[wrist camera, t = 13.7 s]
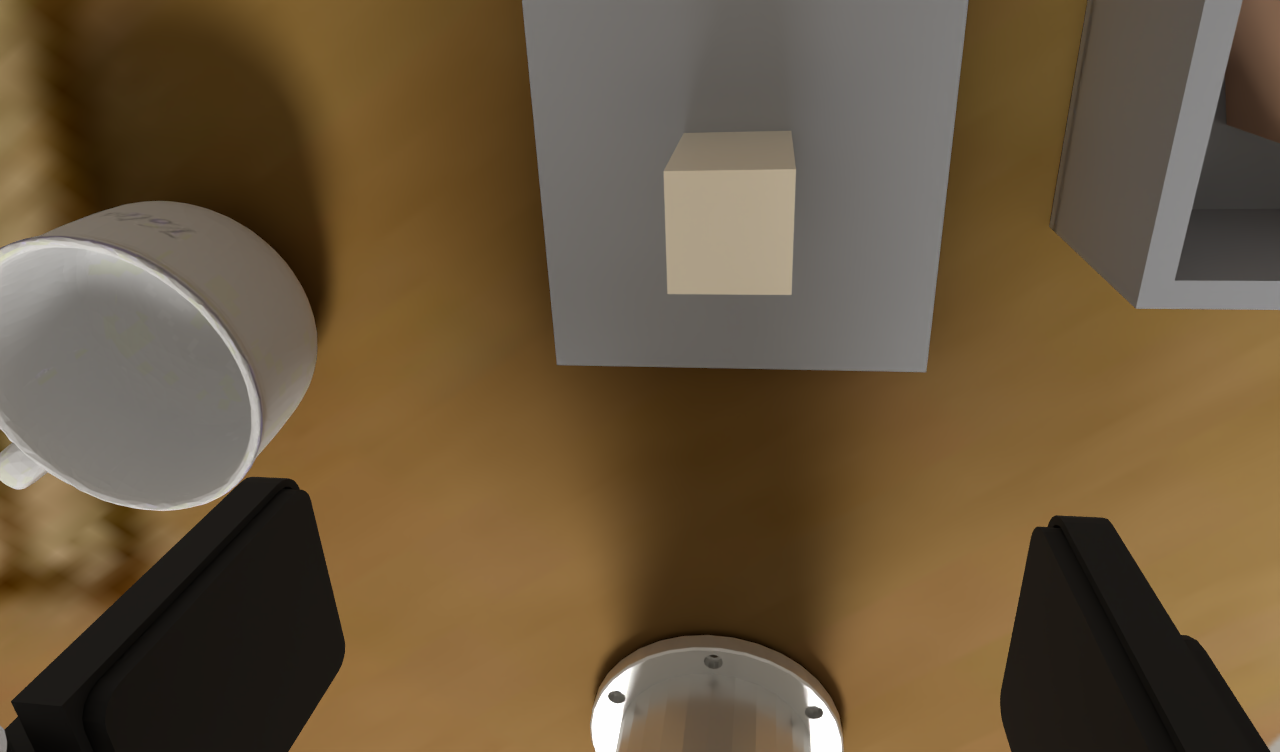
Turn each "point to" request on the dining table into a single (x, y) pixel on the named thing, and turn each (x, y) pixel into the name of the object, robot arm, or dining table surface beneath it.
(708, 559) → the dining table surface
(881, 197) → the lid
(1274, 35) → the terracotta block
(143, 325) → the teacup
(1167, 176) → the open box
